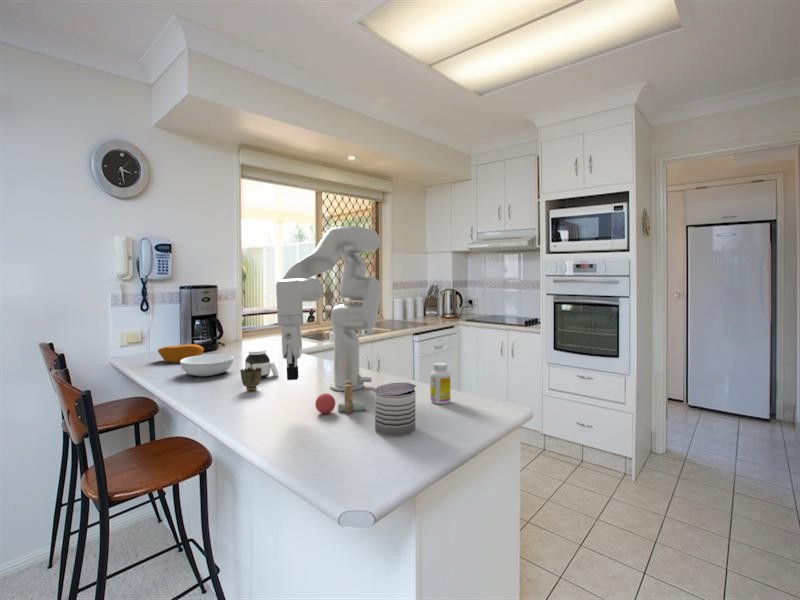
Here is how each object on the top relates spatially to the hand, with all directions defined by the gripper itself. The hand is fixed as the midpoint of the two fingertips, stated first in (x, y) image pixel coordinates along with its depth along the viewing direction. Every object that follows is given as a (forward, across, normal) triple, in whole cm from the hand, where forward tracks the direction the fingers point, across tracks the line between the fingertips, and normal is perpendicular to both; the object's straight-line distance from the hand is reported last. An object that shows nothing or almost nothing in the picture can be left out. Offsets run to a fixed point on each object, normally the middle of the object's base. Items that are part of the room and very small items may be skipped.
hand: (292, 379), depth 127 cm
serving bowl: (+12, +57, +44) cm, 73 cm away
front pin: (+10, -1, -14) cm, 17 cm away
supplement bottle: (+12, +4, -47) cm, 49 cm away
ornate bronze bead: (+11, +27, +19) cm, 35 cm away
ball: (+7, -3, -10) cm, 13 cm away
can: (+10, -19, -29) cm, 37 cm away
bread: (+12, +89, +67) cm, 112 cm away
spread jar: (+12, +48, +19) cm, 53 cm away
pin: (+10, -4, -17) cm, 20 cm away
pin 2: (+11, +1, -17) cm, 20 cm away
